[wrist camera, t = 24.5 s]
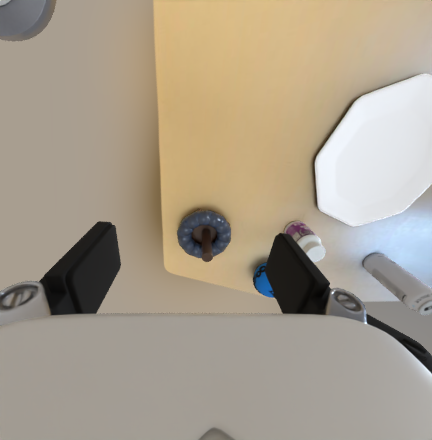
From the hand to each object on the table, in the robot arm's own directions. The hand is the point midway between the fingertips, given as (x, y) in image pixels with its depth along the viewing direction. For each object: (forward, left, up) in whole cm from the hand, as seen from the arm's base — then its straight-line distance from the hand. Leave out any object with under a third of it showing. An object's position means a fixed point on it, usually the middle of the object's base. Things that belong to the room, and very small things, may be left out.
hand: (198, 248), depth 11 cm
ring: (+8, -13, -25) cm, 29 cm away
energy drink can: (+54, 0, -28) cm, 61 cm away
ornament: (+28, -16, -28) cm, 43 cm away
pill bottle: (+27, -3, -28) cm, 39 cm away
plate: (+32, +18, -28) cm, 47 cm away
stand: (+8, -13, -28) cm, 32 cm away
